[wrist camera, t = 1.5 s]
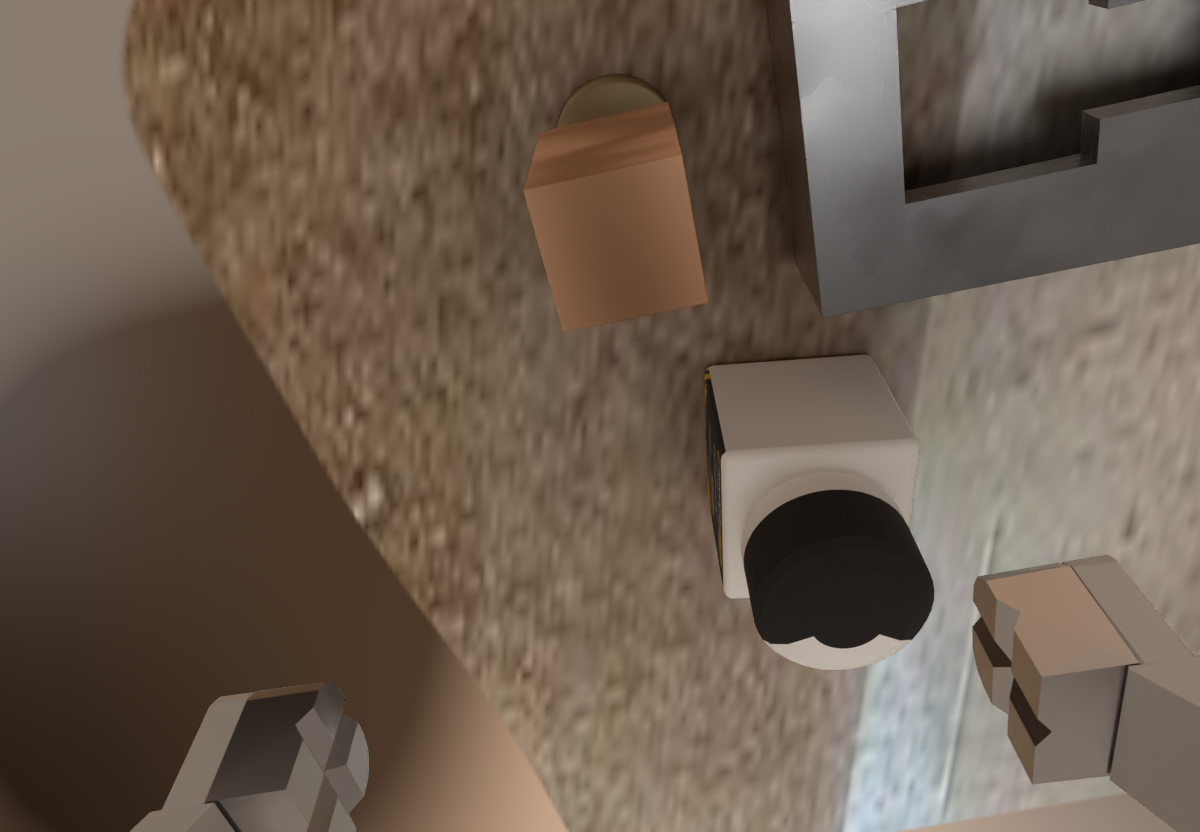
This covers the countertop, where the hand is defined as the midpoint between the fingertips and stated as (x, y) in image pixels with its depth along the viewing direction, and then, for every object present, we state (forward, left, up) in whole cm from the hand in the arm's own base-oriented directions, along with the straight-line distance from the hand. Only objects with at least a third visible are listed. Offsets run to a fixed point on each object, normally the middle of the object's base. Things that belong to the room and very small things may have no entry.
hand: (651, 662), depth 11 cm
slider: (0, 0, -25) cm, 25 cm away
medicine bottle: (-13, +6, -25) cm, 29 cm away
